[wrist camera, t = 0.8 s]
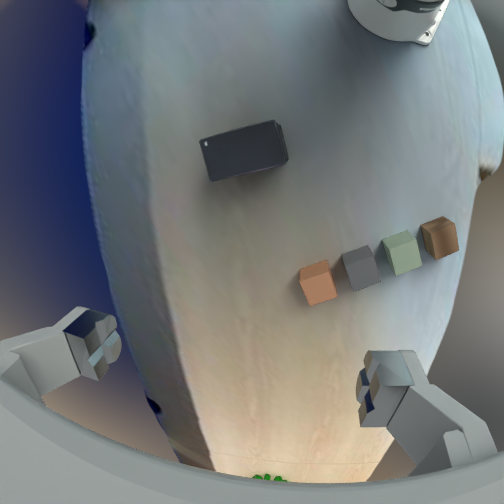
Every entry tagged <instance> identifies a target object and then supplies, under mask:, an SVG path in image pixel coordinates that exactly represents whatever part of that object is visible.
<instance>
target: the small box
mask: <svg viewBox="0 0 504 504" xmlns="http://www.w3.org/2000/svg"><path fill="white" fill-rule="evenodd" d="M199 143H200V146H201V149H202V153H203V157H204V160H205V164H206V168H207V171H208V175H209V179H210V181H211V182H213V181H218V180H222V179H226V178H230V177H235V176H239V175H244V174H249V173H253V172H257V171H261V170H265V169H269V168H273V167H277V166H281V165H284V164H285V163H286V162H287V161H288V154H287V149H286V145H285V141H284V137H283V133H282V129H281V126H280V125H279V124H277V123H276V122H275V120H271V121H266V122H262V123H258V124H254V125H250V126H246V127H242V128H238V129H235V130H231V131H228V132H224V133H221V134H217V135H214V136H210V137H207V138H204V139H201V140H200V141H199Z"/></svg>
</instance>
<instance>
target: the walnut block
mask: <svg viewBox="0 0 504 504" xmlns="http://www.w3.org/2000/svg"><path fill="white" fill-rule="evenodd" d="M420 226H421V230H422V234H423V239H424V243H425V248H426V251H427V252H428V253H429V254H430V255H431V256H432V257H433V258H434V259H435V260H438V259H441V258H443V257H445V256H447V255H450V254H452V253H454V252H457V251H459V246H458V239H457V233H456V227H455V223H453V222H451V221H450V220H448V219H447V218H445V217H443V216H442V217H440V218H437V219H435V220H432V221H430V222H427V223H425V224H422V225H420Z"/></svg>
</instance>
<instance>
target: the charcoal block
mask: <svg viewBox="0 0 504 504" xmlns="http://www.w3.org/2000/svg"><path fill="white" fill-rule="evenodd" d="M342 258H343V261H344V265H345V268H346V271H347V274H348V277H349V280H350V283H351V286H352V289H353V292H354V291H357V290H360V289H363V288H366V287H368V286H371V285H374V284H377V283H379V282H381V280H380V276H379V272H378V269H377V265H376V262H375V258H374V255H373V253H372V252H371V250H370V248H369V247H368V245H367V246H364V247H361V248H359V249H356V250H353V251H351V252H348V253H345V254H342Z"/></svg>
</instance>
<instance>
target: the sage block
mask: <svg viewBox="0 0 504 504" xmlns="http://www.w3.org/2000/svg"><path fill="white" fill-rule="evenodd" d="M382 241H383V245H384V248H385V252H386V256H387V259H388V263H389V265H390V267H391V269H392V270H393V272H394V274H395V275H396V276H398V275H400V274H403V273H405V272H408V271H410V270H413V269H415V268H418V267H420V266H422V263H421V258H420V253H419V249H418V244H417V240H416V238H415V237H414V236H413V235H412V234H410V233H409V232H408V231H407V230H406V231H403V232H401V233H398V234H396V235H393V236H390V237H388V238H385V239H382Z"/></svg>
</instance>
